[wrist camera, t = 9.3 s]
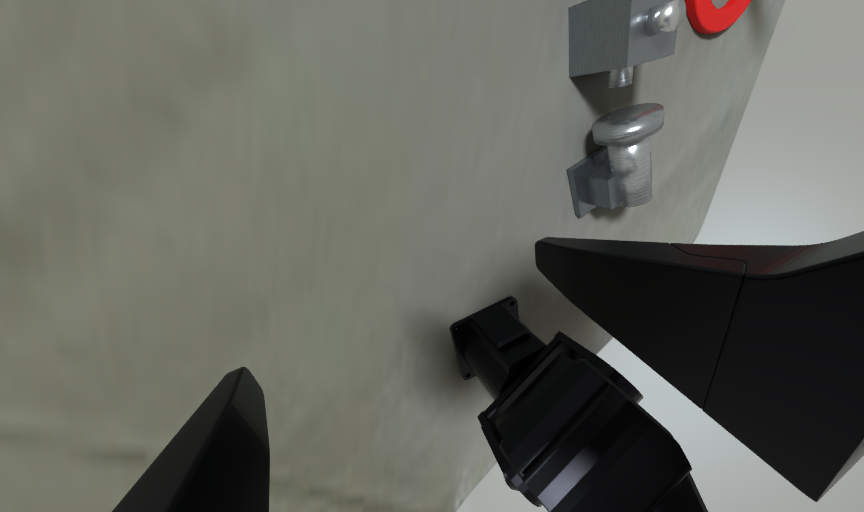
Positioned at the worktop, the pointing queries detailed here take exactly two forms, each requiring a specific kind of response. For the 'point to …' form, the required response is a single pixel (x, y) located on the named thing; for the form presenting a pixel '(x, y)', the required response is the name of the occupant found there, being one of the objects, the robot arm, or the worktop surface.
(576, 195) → the shaft
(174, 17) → the worktop surface
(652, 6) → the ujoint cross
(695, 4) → the tow hook
